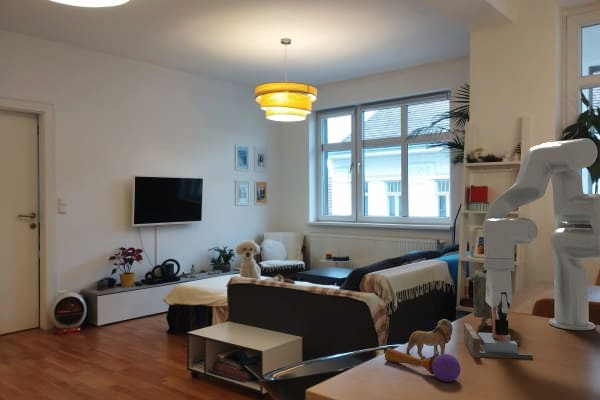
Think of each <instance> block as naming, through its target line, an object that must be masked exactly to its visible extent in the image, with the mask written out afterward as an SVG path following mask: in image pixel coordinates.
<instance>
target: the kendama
mask: <svg viewBox="0 0 600 400" xmlns="http://www.w3.org/2000/svg"><path fill="white" fill-rule="evenodd" d="M384 359H385V361H386V362H390V363H396V364H397V363H398V364H408V365H409V364H411V365H419V366H420V365H421V366H422V367H423V368H425V370H426V371H427V372H429V373H430V374H431V375H434V377H436V378H437V379H438V380H439V381H442V382H445V383H451V382H454V381H456V380H457V379H458V378H459V376H460V375H461V370H462V369H461V365H460V363H459V360H458V359H457V358H456V357H455V356H454V355H452V354H449V353H444V354H441V353H440V354H437V355H432V356H429V357H426V359H421V358H418V357H415V356H412V355H411V356H410V355H407V354H406V352H402V351H399V350H396V349H393V348H387V349H386V350H385V352H384Z"/></svg>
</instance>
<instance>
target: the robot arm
mask: <svg viewBox="0 0 600 400" xmlns="http://www.w3.org/2000/svg"><path fill="white" fill-rule="evenodd" d="M597 158H598V147H597V145H596V143H595V142H594V141H593V140H592V139H591V138H575V139H566V140H555V141H549V142H544V143H541V144H539V145H534V146H532V147H531V148H529V149H528V150H527V151H526V154H525V156H524V157H523V161H522V163H521V166H520V168H519V171H518V174H517V176H516V178H515V181H514V183H513V185H512V186H510V187H509V188H507V189H506V190H505V191H503V192H502V193H501V194H500V195H499V196H498V197H497V198H496V199H495V200H493V201H492V203H491V204H490V206H489V207H488V210H487V212H486V214H485V217H484V220H483V224H482V235H483V265H484V269H485V270H487V275H486V302H487V303H488V304H489V305H490V306H491V307H492V308H495V307H496V319H495V334H496V335H508V334H509V310H510V309H511V308H512V306H513V305H512V304H513V290H512V289H513V287H512V273H511V272H515V245H519V246H523V245H524V246H525V245H529V244H532V243H533V242H534V241H536V239H537V237H538V233H539V231H538V226H537V224H536V222H534V221H533V220H532V219H531V218H527V217H513V216H512V217H511V216H508V214H511V213H512V212H513V211H514V210H516V209H518V208H521V207H523V206H527V205H529V204H532V203H534V202H536V201H538V200H540V199H542V198H543V197H544V196H545V194H546V191H547V188H548V185H549V182H550V181H551V185H552V187H551V188H552V200H553V201H552V202H553V203H552V204H553V213H554V218H555V219H556V221H557V222H559V223H562V224H573V225H579V224H580V225H591V226H590V227H591V228H590V227H588V228H587V227H561V228H557V229H555V230H554V231H552V233H551V234H550V239H549V241H550V243H549V244H550V248H551V253H552V258H553V275H554V276H553V277H554V278H553V281H554V286H553V288H554V289H553V290H554V317H553V318H550V319H549V321H548V322H549V325H551V326H553V327H555V328H559V329H564V330H570V331H591V330H594V329H595V324H594V323H593V322H591V321H589V320H590V319H589V313H590V311H589V272H588V269H587V266H586V265H585V263H583V261H582V260H581V259H587V260H600V193H585V192H584V188H583V187H584V186H583V178H582V176H581V173H580V172H579V171H580V170H582V169H586V168H588V167H591V166H592V165H593V164H594V163H595V162H596V159H597ZM498 305H500V306H502V308H498ZM499 310H501V311H500V312H499ZM490 319H491V321H492V315H491V318H490ZM491 330H492V331H493V324H492V323H491Z"/></svg>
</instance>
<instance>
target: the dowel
mask: <svg viewBox="0 0 600 400" xmlns="http://www.w3.org/2000/svg"><path fill="white" fill-rule="evenodd" d="M498 308H502V306H500V305H498ZM500 311H501V310H499V312H500ZM495 319H496V307H495V308H492V320H491V325H492V324H493V330H492V333H493V339H494V340H498V341H507V335H496V334H495Z"/></svg>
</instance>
